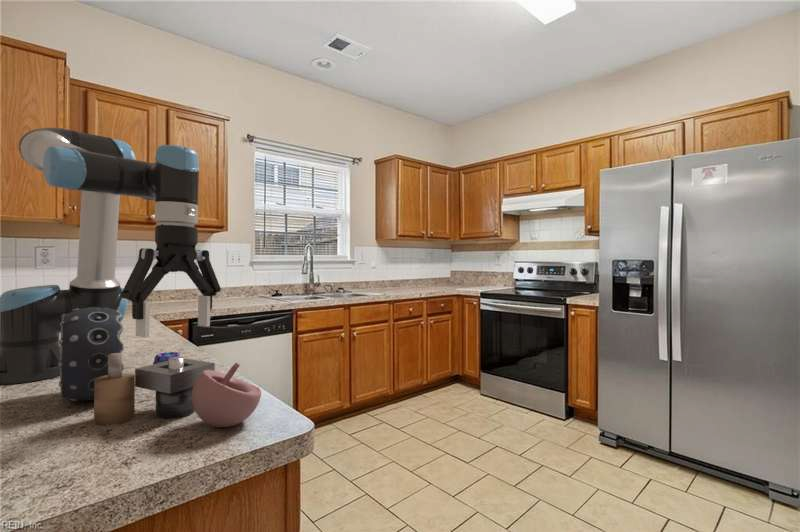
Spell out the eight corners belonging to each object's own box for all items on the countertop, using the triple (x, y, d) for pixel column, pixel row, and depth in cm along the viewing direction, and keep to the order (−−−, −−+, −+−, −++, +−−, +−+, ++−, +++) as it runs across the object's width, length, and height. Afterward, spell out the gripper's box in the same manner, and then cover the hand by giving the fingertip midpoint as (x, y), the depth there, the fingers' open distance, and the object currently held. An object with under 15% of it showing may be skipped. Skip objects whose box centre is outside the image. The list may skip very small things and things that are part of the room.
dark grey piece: (57, 417, 79) (57, 314, 79) (63, 390, 95) (64, 304, 95) (124, 406, 86) (124, 311, 85) (119, 382, 102) (120, 302, 101)
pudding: (139, 371, 113) (139, 352, 113) (187, 365, 121) (187, 347, 121) (144, 381, 104) (145, 361, 104) (196, 374, 111) (196, 355, 111)
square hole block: (135, 386, 80) (135, 368, 80) (180, 373, 89) (180, 357, 89) (170, 393, 76) (170, 375, 76) (214, 379, 85) (214, 362, 85)
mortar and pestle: (268, 429, 75) (268, 367, 75) (195, 444, 69) (195, 376, 68) (253, 408, 85) (253, 354, 85) (188, 420, 79) (189, 360, 79)
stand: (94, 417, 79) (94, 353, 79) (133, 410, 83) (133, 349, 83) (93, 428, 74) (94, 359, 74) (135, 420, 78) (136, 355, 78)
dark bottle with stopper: (153, 411, 83) (153, 357, 83) (191, 404, 87) (192, 352, 87) (157, 422, 77) (157, 364, 77) (198, 414, 82) (198, 359, 81)
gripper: (125, 219, 69) (124, 344, 69) (238, 229, 92) (236, 323, 92) (98, 219, 72) (97, 339, 72) (214, 229, 95) (212, 320, 95)
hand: (175, 330), depth 82 cm, fingers open, 13 cm apart
